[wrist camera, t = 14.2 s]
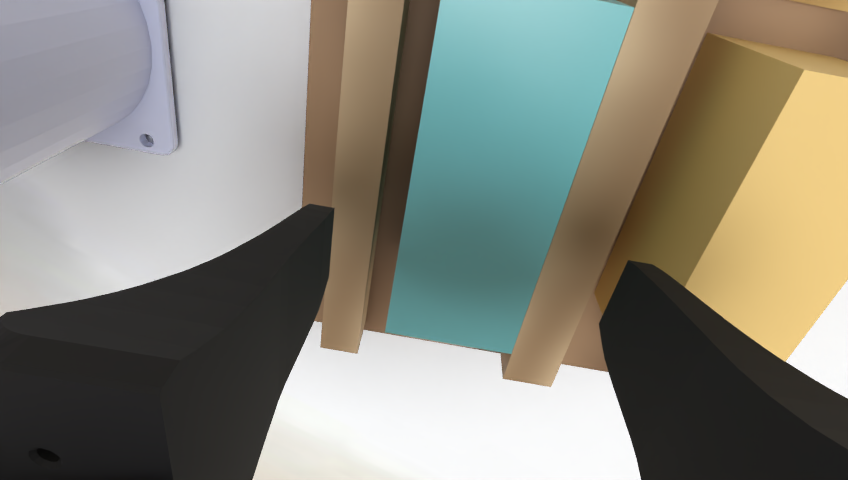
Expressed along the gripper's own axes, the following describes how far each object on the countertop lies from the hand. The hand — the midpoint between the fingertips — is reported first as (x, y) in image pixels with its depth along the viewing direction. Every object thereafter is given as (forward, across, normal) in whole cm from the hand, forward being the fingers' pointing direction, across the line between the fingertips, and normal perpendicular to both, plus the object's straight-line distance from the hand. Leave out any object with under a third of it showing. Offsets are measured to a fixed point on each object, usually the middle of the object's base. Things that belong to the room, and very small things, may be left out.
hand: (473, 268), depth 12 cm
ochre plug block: (+6, -8, -1) cm, 10 cm away
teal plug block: (+6, 0, -1) cm, 7 cm away
